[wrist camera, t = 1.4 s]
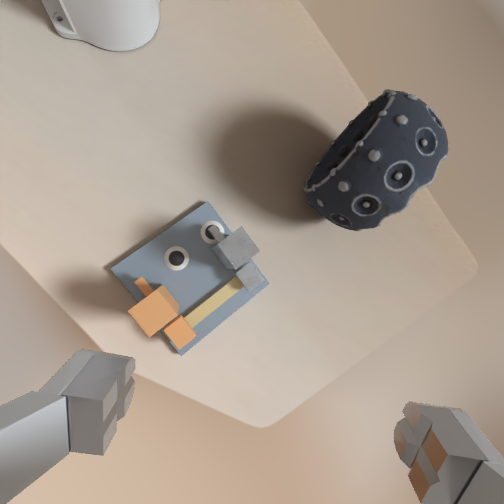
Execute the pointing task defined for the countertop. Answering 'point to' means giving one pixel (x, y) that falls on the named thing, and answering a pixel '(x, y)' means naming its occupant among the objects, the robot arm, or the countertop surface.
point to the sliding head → (161, 314)
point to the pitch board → (189, 273)
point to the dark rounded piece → (378, 162)
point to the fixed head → (237, 255)
